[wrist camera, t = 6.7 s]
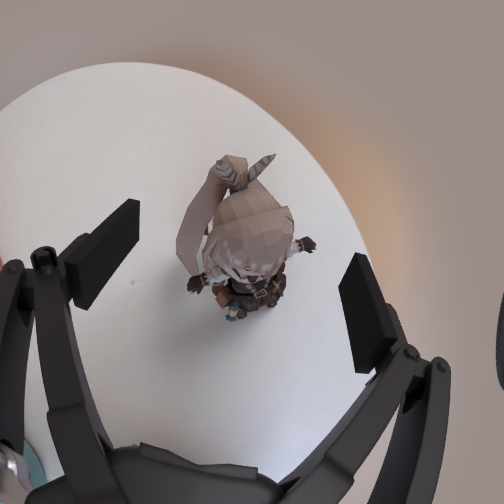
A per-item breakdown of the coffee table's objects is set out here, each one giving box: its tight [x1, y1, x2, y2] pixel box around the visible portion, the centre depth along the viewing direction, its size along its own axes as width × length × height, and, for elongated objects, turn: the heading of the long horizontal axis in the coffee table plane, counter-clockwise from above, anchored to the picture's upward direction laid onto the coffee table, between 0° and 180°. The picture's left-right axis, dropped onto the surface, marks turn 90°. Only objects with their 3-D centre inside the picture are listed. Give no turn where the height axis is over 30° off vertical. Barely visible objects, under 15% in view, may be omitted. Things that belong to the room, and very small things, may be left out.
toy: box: [176, 154, 316, 322], centre depth 17 cm, size 9×8×15 cm
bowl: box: [0, 439, 47, 504], centre depth 13 cm, size 16×16×8 cm
